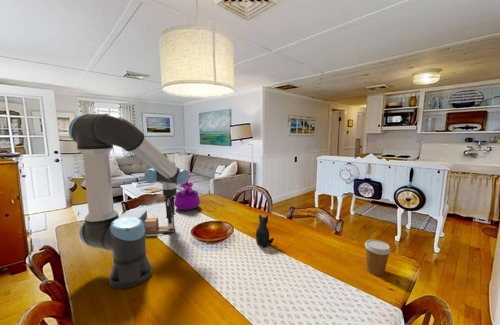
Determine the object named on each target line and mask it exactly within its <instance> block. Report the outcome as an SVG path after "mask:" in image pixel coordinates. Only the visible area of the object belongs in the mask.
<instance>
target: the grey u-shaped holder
mask: <svg viewBox="0 0 500 325" xmlns="http://www.w3.org/2000/svg"><path fill="white" fill-rule="evenodd" d="M172 217H173V228H172V229H168V225H160V224H159V217H158V216H157V217H156V216H155V217H154V216H153V217H151V216H150V217H147V219H146V220H145V221H144V224H145V234H147V233H163V234H165V233H174V231H175V229H176V225H175V215H174V214H173V213H172Z"/></svg>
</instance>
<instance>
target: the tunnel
mask: <svg viewBox="0 0 500 325" xmlns="http://www.w3.org/2000/svg"><path fill="white" fill-rule="evenodd" d="M122 217H136V218H139V219H141V220H142V221H143V223H144V221H145V220H146V219H147V218H148V209H138V210H135V209H132V210H127V211H125V212H124V213H123V214H122V215H121V216H119V218H122ZM144 228H145V224H144Z"/></svg>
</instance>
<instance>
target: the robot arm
mask: <svg viewBox="0 0 500 325" xmlns="http://www.w3.org/2000/svg"><path fill="white" fill-rule="evenodd" d="M69 123H70V124H69V126H68V135H69V137H70V139H71V140H73V141H74V142H75V143H76V146H77V151H79V153H81V154H82V157H83V158H82V159H83V167H84V178H85V187H86V198H87V210H88V211H87V212H88V214H86V216H84V221H83V223H82V225H81V226H80V228H79V238H80V240H81V242H82V243H83V244H84V245H87V246H89V247H92V248H97V249H101V250H105V251H110V252H112V266H111V269H110V272H109V275H108V276H109V278H108V281H109V286H110V287H112V288H113V289H119V290H125V289H131V288H133V287H136V286H139V285H141V284H143V283H144V282H146V281H147V280H148V279H149V278H150V277H151V275H152V273H153V272H152V265H151V262H150V259H149V258H148V256H147V250H146V248H147V247H146V244H147V243H146V236H145V228H144V223H143V221H142V220H141V219H139V218H136V217H122V218H119V217H120V216H119V212H118V211H117V210H116V209H114V199H113V198H114V197H113V187H112V186H113V185H112V175H111V174H112V173H111V172H112V171H111V162H110V152H112V150H113V149H114V147H115V146H116V147H118V148H121V149H122V150H124V151H125V152H128V153H129V152H131V153H133V154H134V155H135V156H137V157H138V158H140V159H141V161H143V162H145V163H146V164H148V166H150V167H151V168H148V169H146V170H145V171H144V175H143V176H144V180H145V181H146V183H148V184H154V183H162V196H164V197H166V199H165V204H164V205H165V213H166V216H165V219H167V226H168V229H172V228H173V217H172V213H173V214H174V216H175V215H176V213H175V208H176V206H175V198H176V194H177V192H178V191H177V185H179V184H185V183H186V182H187V180H188V181H189V179H188V177H189V175H190V174H189V175H188V172H187V169H183V168H179V167H178V166H177V165H176V162H175V161H171V160H170V159H169V158H167V156H166V155H165V154H163V153H162V152H161V151H160V150H159V149H157V148H156V147H155V146H154V145H153V144H152V143H151V142H150V141H149V140H148V139H146V137H145V134H144V132H143V131H141V129H139V128H138V127H137V126H136V125H134V124H133V123H132V122H130V121H128V120H127V119H125V118H124V117H122V116H120V115H117V114H113V113H87V114H81V115H78V116H76V117H74V118H73V119H71V121H70V122H69ZM113 146H114V147H113Z"/></svg>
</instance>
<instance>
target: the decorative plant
mask: <svg viewBox="0 0 500 325" xmlns="http://www.w3.org/2000/svg"><path fill="white" fill-rule="evenodd" d="M186 170H187V169H186ZM187 172H188V175H189V177H188V180H187V182H186V183H185V184H180V186H181V187H182V188H183V190H180V191H177V194H176V195H175V198H174V206H175V208H176V209H179V210H184V211H188V210H192V209H193V210H194V209H195V208H197V207H199V206H200V203H201V201H200V197H199V193H198V191H196V190H194V189H193V188H192V187H193V186H194V184H193V182H189V179H190V178H191V175H190V171H189V170H187Z"/></svg>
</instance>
